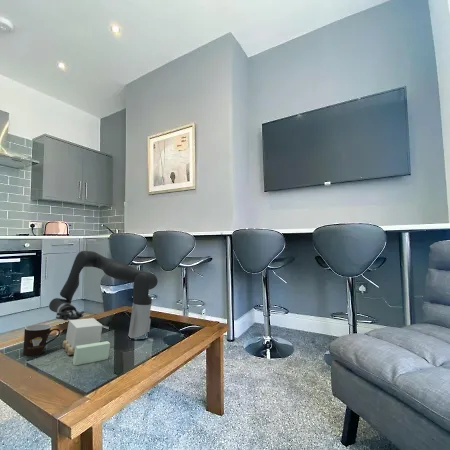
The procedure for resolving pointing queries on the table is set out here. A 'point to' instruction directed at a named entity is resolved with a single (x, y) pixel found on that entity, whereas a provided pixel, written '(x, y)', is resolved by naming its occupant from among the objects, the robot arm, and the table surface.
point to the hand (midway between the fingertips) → (74, 319)
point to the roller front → (70, 351)
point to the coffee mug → (36, 339)
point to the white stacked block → (83, 332)
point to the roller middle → (67, 347)
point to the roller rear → (64, 343)
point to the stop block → (91, 353)
